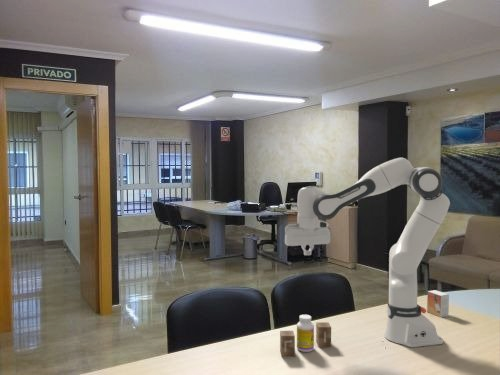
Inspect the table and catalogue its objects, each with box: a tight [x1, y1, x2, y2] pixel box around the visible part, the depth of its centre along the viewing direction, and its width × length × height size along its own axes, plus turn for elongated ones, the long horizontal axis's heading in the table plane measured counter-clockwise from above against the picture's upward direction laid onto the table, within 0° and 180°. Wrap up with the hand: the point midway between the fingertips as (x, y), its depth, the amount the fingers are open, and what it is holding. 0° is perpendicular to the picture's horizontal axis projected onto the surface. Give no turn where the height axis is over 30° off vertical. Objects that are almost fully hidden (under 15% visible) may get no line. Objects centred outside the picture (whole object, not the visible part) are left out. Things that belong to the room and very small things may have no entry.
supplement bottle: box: [296, 314, 315, 353], centre depth 159 cm, size 7×7×13 cm
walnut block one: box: [315, 321, 332, 348], centre depth 163 cm, size 5×5×8 cm
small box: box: [426, 289, 450, 318], centre depth 196 cm, size 8×6×10 cm
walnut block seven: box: [279, 330, 296, 358], centre depth 155 cm, size 5×5×8 cm
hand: (307, 254), depth 177 cm, fingers closed
